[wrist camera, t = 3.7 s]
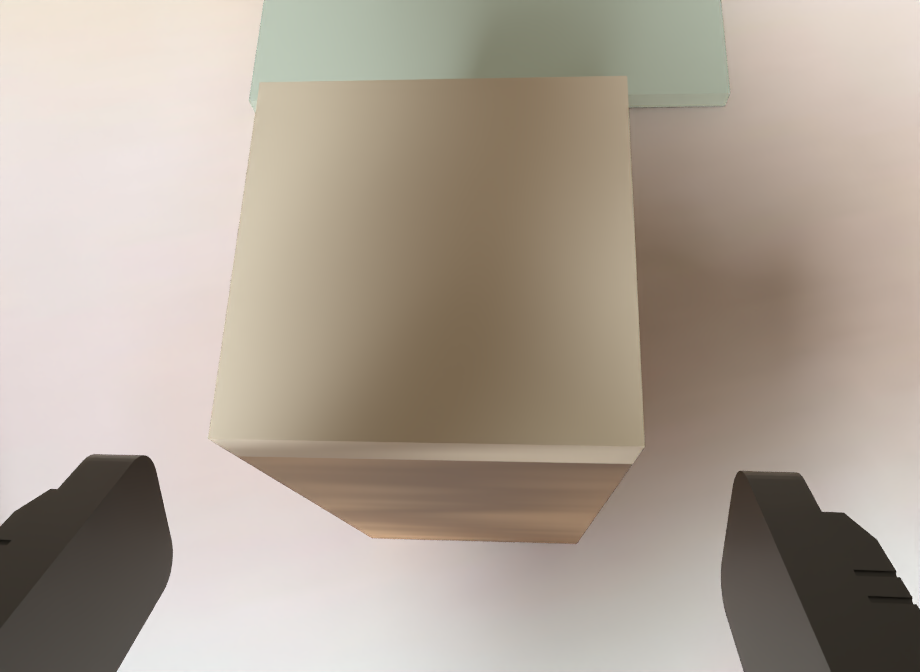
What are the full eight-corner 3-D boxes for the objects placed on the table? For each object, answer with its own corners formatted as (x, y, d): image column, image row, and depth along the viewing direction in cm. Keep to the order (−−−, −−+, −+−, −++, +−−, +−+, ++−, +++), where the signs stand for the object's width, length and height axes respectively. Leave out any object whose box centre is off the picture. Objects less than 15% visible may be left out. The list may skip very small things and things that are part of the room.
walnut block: (372, 537, 19) (207, 439, 9) (385, 346, 21) (259, 82, 11) (576, 543, 19) (645, 446, 9) (573, 348, 21) (626, 76, 11)
